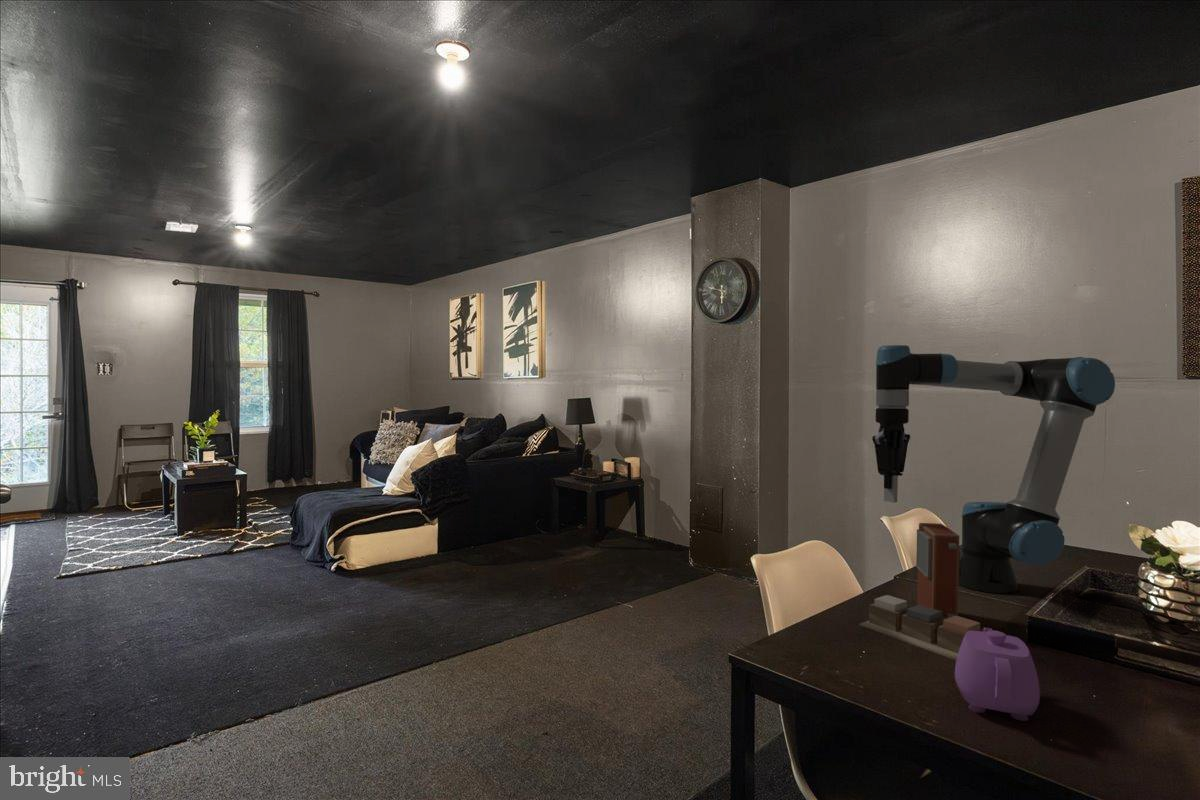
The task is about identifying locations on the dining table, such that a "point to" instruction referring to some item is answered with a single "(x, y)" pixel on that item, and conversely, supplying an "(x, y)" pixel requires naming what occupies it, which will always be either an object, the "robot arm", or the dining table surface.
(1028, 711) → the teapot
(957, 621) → the terracotta key
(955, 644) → the keypad board
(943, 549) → the terracotta and grey box
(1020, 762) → the dining table surface
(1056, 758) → the dining table surface
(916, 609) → the graphite key
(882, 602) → the ivory key
